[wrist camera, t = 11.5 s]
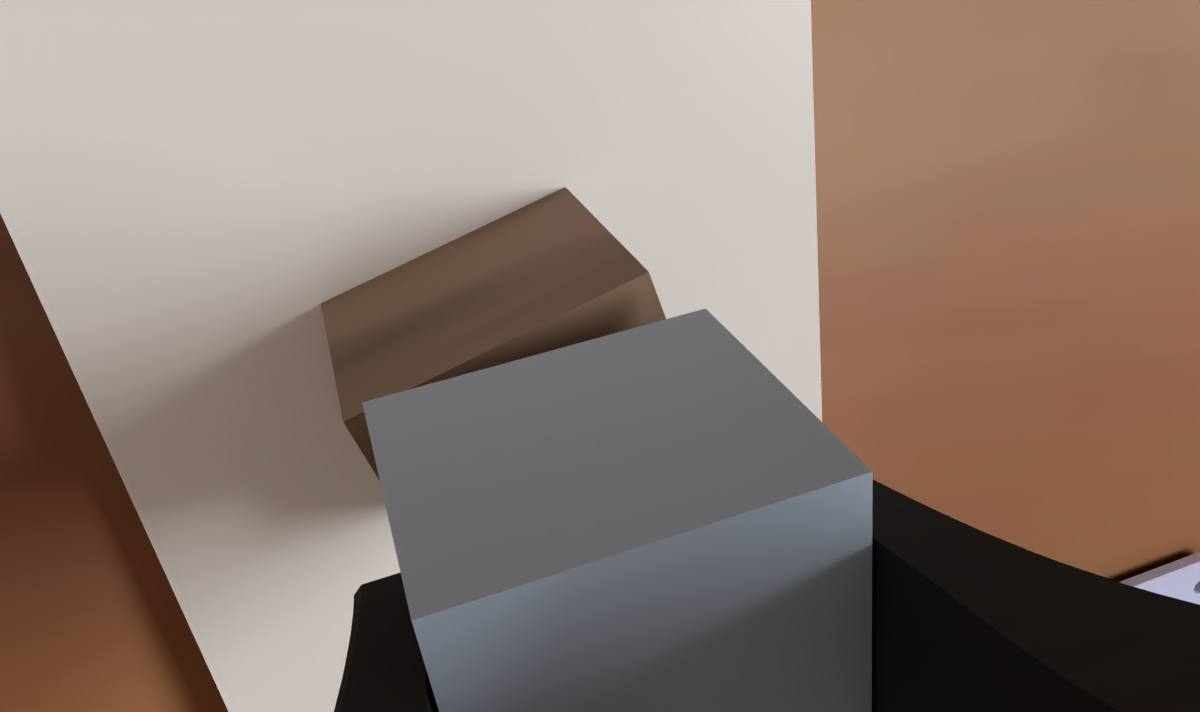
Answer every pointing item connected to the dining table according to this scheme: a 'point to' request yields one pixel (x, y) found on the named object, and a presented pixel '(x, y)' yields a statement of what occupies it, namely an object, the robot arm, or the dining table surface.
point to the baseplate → (364, 240)
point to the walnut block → (484, 304)
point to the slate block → (630, 532)
